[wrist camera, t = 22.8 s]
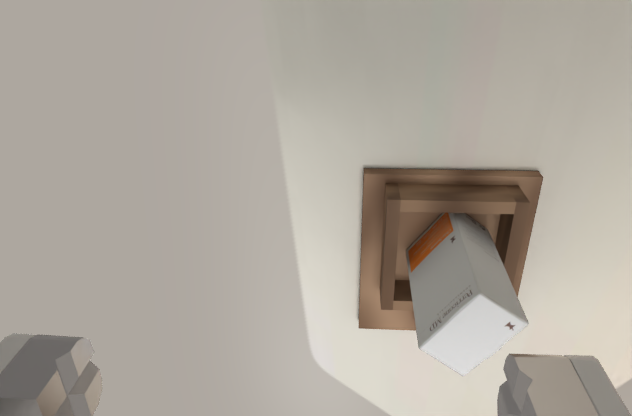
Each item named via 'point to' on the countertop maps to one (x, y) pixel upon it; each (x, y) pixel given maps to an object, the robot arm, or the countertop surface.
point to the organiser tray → (420, 213)
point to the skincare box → (461, 293)
